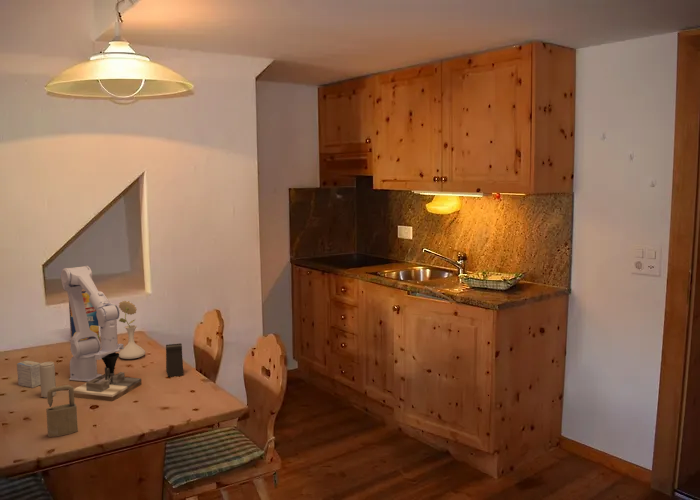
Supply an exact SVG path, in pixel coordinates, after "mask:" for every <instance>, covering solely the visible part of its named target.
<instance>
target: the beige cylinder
mask: <svg viewBox="0 0 700 500" xmlns="http://www.w3.org/2000/svg"><path fill="white" fill-rule="evenodd" d="M40 363H41V364H40V382H41V385H40V395H41V397H42V398H45V399H46V398H47V393H48V390H49V389H50V388H53V387H57V386H56V371H55V369H56V367H55V362H54V361H45V362H40ZM56 394H57V391H56V392H53V393H52V395H53V397H55V396H56Z"/></svg>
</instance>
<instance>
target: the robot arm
mask: <svg viewBox="0 0 700 500" xmlns="http://www.w3.org/2000/svg"><path fill="white" fill-rule="evenodd" d="M60 279H61V280H60V281H61V285H62V289H63V290H64V291H65V292H67V297H68V303H69V302H70V307H71V311H72V316H73V321H74V325H75V330H76V334H75V335H74V336H73V337H72V338H71V337H70V340H69V341H70V352H71V355H72V356H71V358H70V360H69V377H70V378H69V377H68V381H75V382H76V381H77V382H85V383H87V382H89V381H91V380H93V379H95V378H97V377H99V376H101V375H103V374H101V373H98V366H97V365H98V363H97V361H100V360H102V361H103V364H104V366H105V367H110V373H114V374H115V369H116V364H117V361H118V359H119V358H120V357H119V352H120V351H121V350H122V349H124V347H125V346H124V345H125V344H124V343H118V323H117V322H118V321H117V320H118V319H119V318H120V308H119V306H118V305H117V304H115V303H113V302H111V301H110V300H109V299H108V297H107V296H106V295H105V293H104V292H103V291H101V290H99V289H98V288H97V285H96V284H95V281H94V280H93V271H92V269H91V267H89V265H84V266H83V265H82V266H76V267H64V268H62V270H61V273H60ZM82 291H86V292H87V294H88V295H89V296H90V298H89V301H90V303H91V304H92V306H93V307H94V309H95V310H96V312H97V313H96V316H97V319H98V324H99V334H100V338H99V339H98V336H97V334H96V333H95V332H93V331H91V330H90V328H89V323H88V319H87V314H86V310H85V305H84V301H83V296H82ZM85 338H89V339H86V340H81V339H85ZM78 340H81V341H78Z"/></svg>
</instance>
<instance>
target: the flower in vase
mask: <svg viewBox="0 0 700 500" xmlns="http://www.w3.org/2000/svg"><path fill="white" fill-rule="evenodd" d="M118 308H119V311H122V312H123V313H124V314H125V315H124V318H123V317H121V318H120V319H119V320H118V322H120V323H123V324H125V323H126V324H127V326H124V328H125V330H126V331H127V336H128V342H127V344H126V345H125V346H124V349H120V351H119V352H118V353H119V357H118V358H120V359H124V360H134V359H137V358H141V357H143V356H145V355H146V350H145V349H144V348H143V347H141V346H140V345H139V344H137V343H136V342H135V331H136V330H137V329H136V328H137V327H138V326H137V325H135V324H134V325H132V323H134V322H135V321H136V319H133V320H131V321H130V322H128V320H127V318H126V317H127V315H130V316H131V315H135V314H136V313H137V307H136V305H135V304H133V303H132V302H130V300H129V301H127V300H122V301H120V302H119V303H118Z"/></svg>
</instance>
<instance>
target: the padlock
mask: <svg viewBox="0 0 700 500" xmlns="http://www.w3.org/2000/svg"><path fill="white" fill-rule="evenodd" d="M74 389H75V388H74V386H73V385H71V384H64V385H59V386H56V387H53V388H50V389H49V390H48V393H47V404H48V405H49V407H48V408H46V425H47V427H46V428H47V436H48V438H51V437H53V438H55V437H61V436H65V435H71V434H73V433H77V432H78V430H79V429H78V427H79V425H78V413H77V411H78V410H77V404H76V403H75V397H74ZM61 391H68V400H69V401H68V402H69V403H66V404H61V405H55V406H52V405H53V403H54V402H53V401H54V400H53V399H54V398H53V397H54V396H53V395H52V393H53V392H56V393H57V392H61Z"/></svg>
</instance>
